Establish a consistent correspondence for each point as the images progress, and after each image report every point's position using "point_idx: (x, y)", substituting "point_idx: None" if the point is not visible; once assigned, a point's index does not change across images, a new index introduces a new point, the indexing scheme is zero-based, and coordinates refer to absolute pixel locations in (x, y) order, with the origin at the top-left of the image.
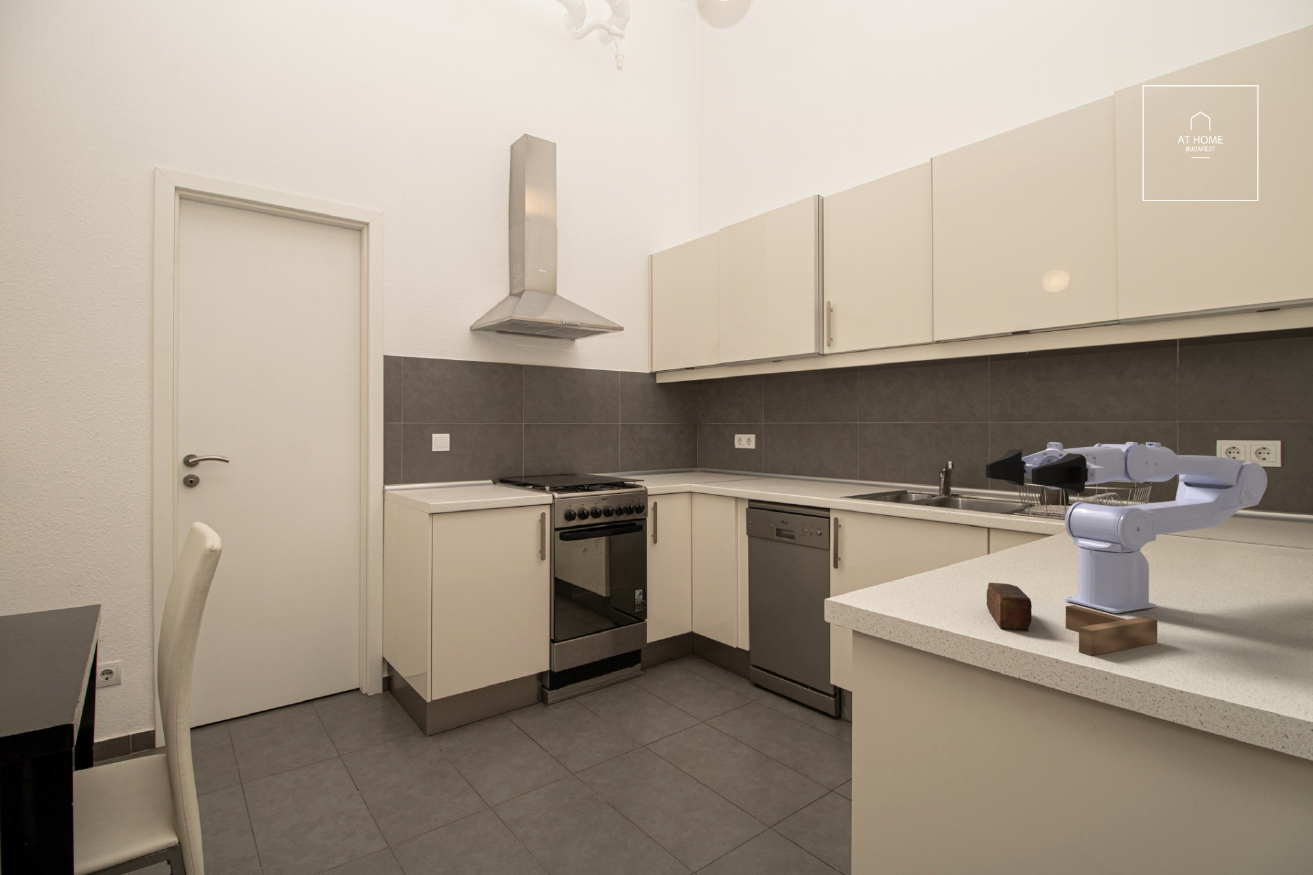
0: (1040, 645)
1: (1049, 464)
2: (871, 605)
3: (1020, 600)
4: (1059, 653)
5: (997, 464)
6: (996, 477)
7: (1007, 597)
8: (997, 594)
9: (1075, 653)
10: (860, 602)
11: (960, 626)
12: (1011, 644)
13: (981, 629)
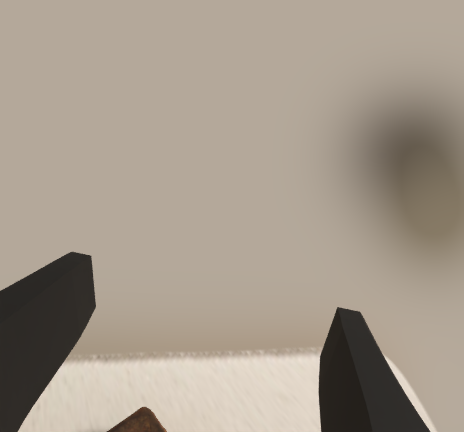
0: (65, 404)
1: (5, 301)
2: None
3: (113, 427)
4: None
5: (343, 357)
6: (321, 397)
7: (136, 412)
8: (164, 429)
9: None
10: None
11: (198, 393)
12: (103, 372)
13: (167, 406)
